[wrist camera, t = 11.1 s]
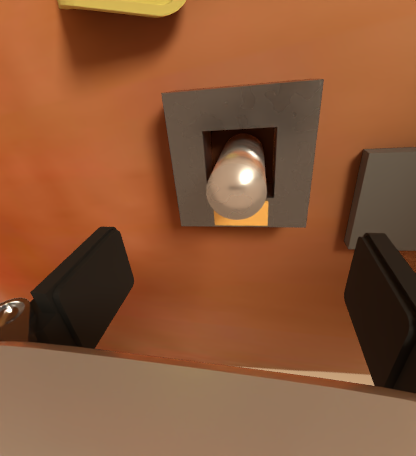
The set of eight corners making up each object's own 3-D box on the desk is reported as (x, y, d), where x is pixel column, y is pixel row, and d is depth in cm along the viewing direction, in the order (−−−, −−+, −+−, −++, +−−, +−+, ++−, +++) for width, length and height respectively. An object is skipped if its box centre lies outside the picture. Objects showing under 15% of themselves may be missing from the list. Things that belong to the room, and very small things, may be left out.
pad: (493, 143, 22) (507, 148, 21) (448, 243, 27) (458, 251, 25) (363, 149, 24) (369, 153, 22) (344, 241, 29) (348, 249, 27)
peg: (264, 132, 24) (267, 162, 16) (263, 173, 26) (265, 219, 18) (221, 134, 25) (203, 164, 17) (224, 174, 27) (208, 219, 19)
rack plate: (313, 78, 22) (324, 79, 18) (299, 208, 28) (306, 229, 24) (175, 90, 24) (160, 93, 20) (190, 208, 30) (180, 227, 26)
